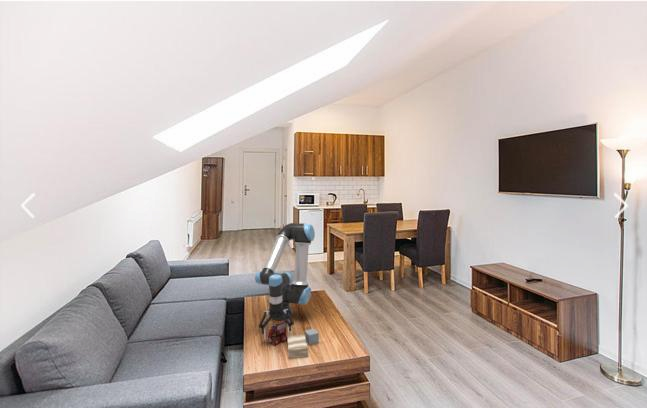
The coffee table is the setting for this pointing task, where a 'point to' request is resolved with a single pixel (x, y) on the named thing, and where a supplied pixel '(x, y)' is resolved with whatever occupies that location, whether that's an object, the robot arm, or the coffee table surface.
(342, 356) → the coffee table surface
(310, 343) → the slate cube
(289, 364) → the coffee table surface
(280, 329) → the toy fire truck
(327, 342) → the coffee table surface
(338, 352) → the coffee table surface
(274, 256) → the robot arm
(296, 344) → the maple block
